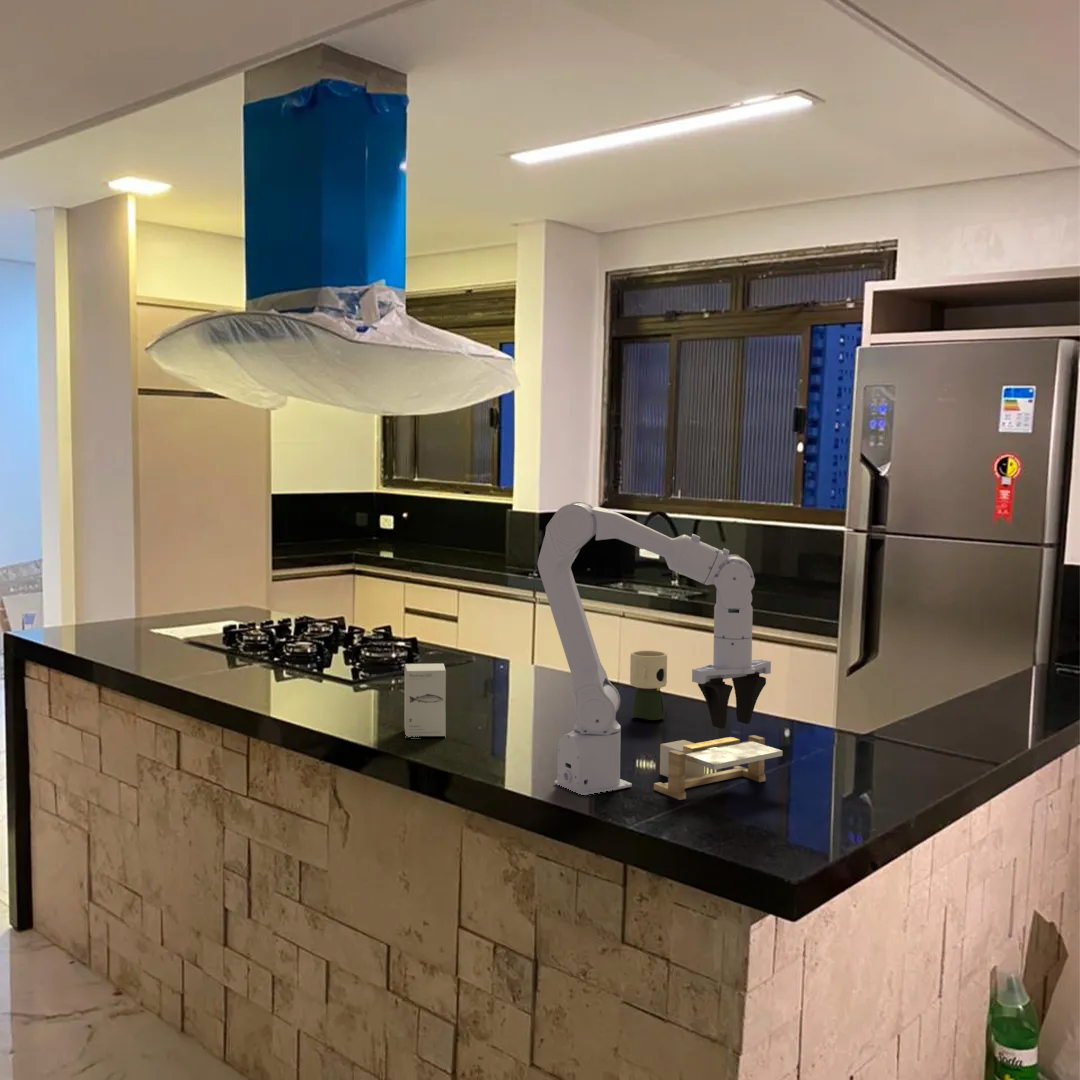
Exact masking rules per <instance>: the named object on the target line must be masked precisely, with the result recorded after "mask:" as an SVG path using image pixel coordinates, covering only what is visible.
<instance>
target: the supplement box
mask: <svg viewBox="0 0 1080 1080" xmlns="http://www.w3.org/2000/svg"><path fill="white" fill-rule="evenodd" d="M446 685H447V670H446V666H445V664H444V663H404V710H403V711H404V712H403V713H404V714H403V715H404V717H403V718H404V720H403V721H404V725H403V726H404V727H403V728H404V734H405V735H406V736H408V737H411V736H413V737H415V736H416V737H417V736H418V737H419V736H445V737H446V735H447V734H446V733H447V732H446V730H447V726H446V725H447V723H446V721H447V720H446V719H447V718H446V711H447V710H446V707H447V706H446V704H447V703H446V701H447V700H446V699H447V698H446V697H447V694H446V693H447V691H446V689H447V686H446ZM406 736H405V737H406Z"/></svg>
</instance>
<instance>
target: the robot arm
mask: <svg viewBox="0 0 1080 1080" xmlns="http://www.w3.org/2000/svg"><path fill="white" fill-rule="evenodd" d="M544 533H545V535H544V537H543V541H542V543H541V544H542V545H541V548H540V552H539V556H538V560H537V569H538V573H539V576H540V578H541V579H540V580H541V582H542V585H543V588H544V592H545V595H546V599H547V601H548V605H549V607H550V610H551V613H552V616H553V620H554V623H555V626H556V629H557V633H558V636H559V639H560V642H561V647H562V649H563V652H564V654H565V658H566V662H567V665H568V667H569V670H570V674H571V682H572V691H573V695H574V699H575V700H574V701H575V704H574V710H573V711H574V712H573V713H574V718H575V721H576V722H574V725H573V727H574V728H573V729H572V730H571V731H570V732H568V733H566V734H563V735H562V736H560V738H559V740H558V743H557V759H556V763H557V768H556V770H557V772H556V773H557V774H556V775H557V776H556V780H554V784H555V783H556V784H557V786H559V785H560V786H559V787H561V786H562V787H561V788H563V787H564V788H563V789H565V788H567V789H566V790H568V789H569V790H568V791H570V790H571V791H570V792H572V791H573V793H574V792H576V793H578V794H577V795H579V794H581V795H587V794H593V795H595V794H594V793H598V794H601V793H600V792H603V793H607V792H606V791H608V792H612V790H613V791H618V790H622V789H626V788H631V787H633V786H632V785H633V784H632V782H629V781H627V780H624V779H621V740H622V739H621V731H622V730H621V729H622V728H621V724H619V722H618V721H617V719H616V716H617V712H618V710H619V709H620V706H621V696H620V693H619V691H618V689H617V688H616V687H615V685H613V684H612V682H611V681H610V680H609V678H608V674H607V671H606V670H605V668H604V667H603V665H602V663H601V660H600V657H599V653H598V650H597V647H596V643H595V641H594V638H593V635H592V631H591V628H590V625H589V622H588V618H587V615H586V613H585V609H584V606H583V603H582V600H581V595H580V593H579V590H578V587H577V583H576V581H575V578H574V574H573V571H572V564H573V563H574V562H575V559H576V558H577V556H578V555H579V553H580V550H581V549H582V548H583V547H584V546H585V545H586V544H587V543H588V542H589V541H590V540H591V539H592V538H593V537H594V536H595V541H602V540H611V539H616V540H619V541H622V542H624V543H627V544H630V545H632V546H636V547H638V548H640V549H643V550H645V551H647V552H650V553H652V554H655V555H658V556H660V557H663V558H664V559H665V562H666V565H667V567H668V569H669V570H671V571H672V572H675V573H678V574H681V575H682V576H685V577H687V578H689V579H692V580H694V581H696V582H699V583H700V584H702V585H705V586H710V585H714V586H715V588H716V595H715V596H716V597H715V598H716V600H715V601H716V603H715V605H714V606H713V609H714V611H713V612H714V613H713V660H712V661H713V662H712V663H709V664H707V665H704V666H701V667H697V668H693V669H691V670H692V671H691V681H692V683H696V684H697V686H698V687H699V690H700V691H701V693H702V696H703V697H704V700H705V702H706V704H707V708H708V712H709V715H710V719H711V726H712V727H714V728H716V729H721V730H723V729H725V728H726V725H727V718H728V707H729V706H728V705H729V701H730V696H731V694H732V690H733V688H734V693H735V709H736V710H735V712H736V713H735V714H736V720H737V722H738V723H743V724H745V725H749V724H750V723H751V720H752V716H753V713H754V710H755V706H756V703H757V701H758V698H759V696H760V695H761V692H762V691H763V690H764V689H763V688H765V686H766V685H767V677H765V676H761V675H760V674H764V675H768V674H771V672H772V671H771V670H772V661H770V660H768V659H767V660H766V659H753V660H752V657H753V656H752V655H753V654H752V653H753V652H752V651H753V619H754V618H753V616H754V614H753V613H754V612H753V606H752V602H753V594H752V590H753V589H754V587H755V584H756V583H755V582H756V578H755V576H754V575H755V574H754V571H753V569H752V566H751V565H750V563H749V562H748V561H747V560H746V559H744V558H743V557H741V556H740V555H739V554H730V550H729V549H727V548H725V547H724V548H723V549H720V548H717V547H715V546H712V545H710V544H708V543H705V542H703V541H701V536H699V535H697V534H694V533H692V535H691V536H689V535H688V534H681V535H680V536H676V537H673V538H672V537H670V536H668V535H665V534H664V533H661V532H659V531H657V530H655V529H653V528H651V527H648V526H646V525H644V524H643V523H640V522H638V521H636V520H634V519H632V518H629V517H627V516H625V515H623V514H621V513H619V512H616V511H612V510H610V509H606V508H604V507H601V506H600V507H599V506H595V507H593V506H592V505H591V504H589V503H587V502H584V501H574V502H571V503H570V504H566V505H564V506H562V507H559V508H558V509H557V511H556V512H555V513H554V515H553V516H552V518H551V519H550V520H549V522H548V523H547V525H546V526H545V532H544ZM728 679H731V681H732V683H733V685H731V684H727V683H726V681H724V680H728ZM556 784H555V785H556ZM576 793H575V794H576ZM581 795H580V796H581Z"/></svg>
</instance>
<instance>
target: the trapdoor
mask: <svg viewBox="0 0 1080 1080" xmlns="http://www.w3.org/2000/svg"><path fill="white" fill-rule="evenodd" d="M740 741H741V740H740V738H736V737H734V736H733V737H732V736H729V737H723V738H718V739H713V740H711V739H710V740H708V741H707V740H706V741H702V742H701V741H700V742H696V743H695V742H694V743H695V744H689V745H684V746H683V753H685V760H688V761H691V762H693V763H696V764H699V765H702V766H704V768H705V767H706V768H708V769H710V770H713V771H715V770H716V771H717V770H720V769H721V770H722V769H726V768H731V767H735V766H740V765H745V764H748V763H750V762H755V761H760V760H764V761H765V760H768V759H774V758H778V757H783V750H782V749H779V748H775V747H772V746H769V745H766V744H765V745H763V744H759V743H756V742H753V741H747V740H746V741H742V742H740Z"/></svg>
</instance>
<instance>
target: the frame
mask: <svg viewBox="0 0 1080 1080" xmlns="http://www.w3.org/2000/svg"><path fill="white" fill-rule="evenodd" d="M748 741H753V742H756V743H759V744H763V745H766V738H765V737H763V736H759V735H756V734H754V735H753V734H752V735H748ZM740 777H744V778H746V779H749V780H752V781H755V782H758V783H762V782H766V774H765V760H760V761H755V762H750V763H747V768H746V767H743V766H742V765H741V766H740V765H736V766H732V769H727V770H722V771H718V772H714V773H707V774H704V775H702V776H697V777H693V778H688V779H685V753H682V752H679V751H676V750H672V751H669V760H668V777H667V782H661V781H660V782H659V781H658V782H654V783H653V791H656V792H659V793H661V794H664V795H666V796H669V797H670V798H673V799H676V800H678V801H681V800H686V799H687V792H686V791H685V790H686V789H688V788H689V789H690V788H693V787H697V786H703V785H706V784H712V783H717V782H721V781H725V780H731V779H735V778H740Z"/></svg>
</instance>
